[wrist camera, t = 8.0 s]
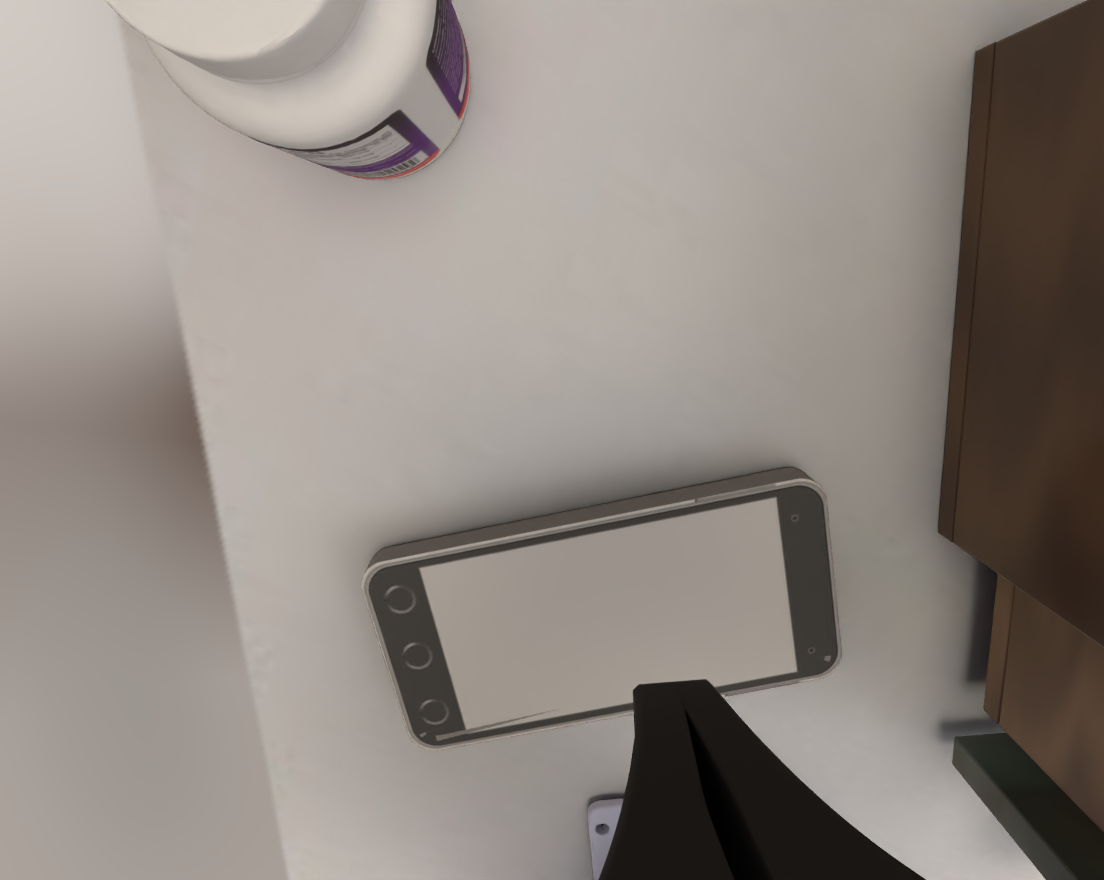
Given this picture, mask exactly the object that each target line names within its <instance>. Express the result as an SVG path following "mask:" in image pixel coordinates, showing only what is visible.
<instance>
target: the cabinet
mask: <svg viewBox="0 0 1104 880" xmlns="http://www.w3.org/2000/svg"><path fill="white" fill-rule="evenodd" d="M938 532H939V533H940V534H941V535H943V536H944V537H945V538H947V539H948V540H950V541H951V542H954V543H955V544H956V545H958V546H959V547H960V548H962V549H963V550H965V551H966V552H968V553H969V554H970V555H972V556H973V557H975V558H976V559H978V560H979V561H980V562H982V563H983V564H985V565H986V566H988V567H989V568H990V569H992V570H993V571H995V572H996V573H998V574H999V575H1000V576H1002V577H1003V578H1005V579H1006V580H1008V581H1009V582H1010V583H1012V584H1013V585H1015V586H1016V587H1018V588H1019V589H1020V590H1022V591H1023V592H1025V593H1026V594H1028V595H1029V596H1030V597H1032V598H1033V599H1035V600H1036V601H1038V602H1039V603H1040V604H1042V605H1043V606H1045V607H1046V608H1048V609H1049V610H1050V611H1052V612H1053V613H1055V614H1056V615H1058V616H1059V617H1060V618H1062V619H1063V620H1065V621H1066V622H1068V623H1069V624H1070V625H1072V626H1073V627H1075V628H1076V629H1078V630H1079V631H1080V632H1082V633H1083V634H1085V635H1086V636H1088V637H1089V638H1090V639H1092V640H1093V641H1095V642H1096V643H1098V644H1099V645H1100V646H1102V647H1103V648H1104V0H1087V1H1084V2H1082V3H1080V4H1078V5H1076V6H1074V7H1071V8H1069V9H1067V10H1065V11H1063V12H1061V13H1058V14H1056V15H1054V16H1052V17H1050V18H1048V19H1045V20H1043V21H1041V22H1039V23H1037V24H1035V25H1032V26H1030V27H1028V28H1026V29H1024V30H1022V31H1019V32H1017V33H1015V34H1013V35H1011V36H1009V37H1006V38H1004V39H1002V40H1000V41H998V42H995V43H993V44H990V45H988V46H986V47H984V48H982V49H980V50H978V51H977V52H976V63H975V76H974V89H973V101H972V114H971V127H970V139H969V152H968V164H967V177H966V190H965V202H964V215H963V228H962V240H961V253H960V265H959V278H958V291H957V303H956V316H955V329H954V341H953V354H952V366H951V379H950V392H949V404H948V417H947V430H946V442H945V455H944V468H943V480H942V493H941V505H940V518H939V531H938Z"/></svg>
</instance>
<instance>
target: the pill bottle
mask: <svg viewBox="0 0 1104 880" xmlns="http://www.w3.org/2000/svg"><path fill="white" fill-rule="evenodd" d="M105 1H106V2H107V3H108V4H109V5H110V6H111V7H112V8H113V9H114V10H115V12H116V13H117V14H118V15H119V16H120V17H121V18H123V19H124V20H125V21H126V22H127V23H128V24H130V25H131V26H132V27H133V28H134V29H136V30H137V31H138V32H140V33H141V34H143V35H144V37H145V39H146V40H147V42H148V44H149V46H150V48H151V50H152V52H153V54H154V55H155V57H156V58H157V60H158V61H159V63H160V64H161V66H162V67H163V68H164V70H165V71H166V73H167V74H168V75H169V77H170V78H171V79H172V80H173V81H174V82H175V84H176V85H177V86H178V87H179V88H180V89H181V90H182V91H183V92H184V93H185V94H186V95H187V96H188V97H189V98H190V99H191V100H192V101H193V102H194V103H195V104H196V105H197V106H199V107H200V108H201V109H202V110H204V111H205V112H206V113H207V114H209V115H210V116H212V117H213V118H215V119H216V120H218V121H219V122H221V123H223V124H224V125H226V126H228V127H229V128H231V129H234V130H236V131H238V132H240V133H242V134H244V135H246V136H248V137H250V138H252V139H254V140H256V141H259V142H261V143H264V144H267V145H270V146H272V147H275V148H278V149H280V150H283V151H286V152H288V153H291V154H293V155H296V156H298V157H301V158H304V159H306V160H308V161H311V162H314V163H316V164H319V165H322V166H324V167H327V168H330V169H332V170H335V171H337V172H340V173H343V174H346V175H349V176H353V177H358V178H363V179H369V180H391V179H396V178H401V177H405V176H408V175H411V174H413V173H415V172H417V171H419V170H421V169H423V168H424V167H426V166H428V165H429V164H431V163H432V162H433V161H434V160H436V159H437V158H438V157H439V156H440V155H441V154H442V153H443V152H444V151H445V150H446V149H447V147H448V146H449V145H450V143H451V142H452V141H453V139H454V138H455V136H456V134H457V132H458V130H459V128H460V126H461V124H462V121H463V118H464V115H465V112H466V109H467V105H468V100H469V94H470V82H471V75H470V63H469V57H468V51H467V47H466V43H465V38H464V35H463V32H462V29H461V26H460V23H459V21H458V18H457V16H456V13H455V10H454V8H453V5H452V2H451V0H105Z"/></svg>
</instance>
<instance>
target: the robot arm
mask: <svg viewBox="0 0 1104 880" xmlns="http://www.w3.org/2000/svg"><path fill="white" fill-rule="evenodd" d="M633 707H634V727H635V739H634V746H633V753H632V760H631V767H630V772H629V777H628V782H627V786H626V790H625V795H624V798H622V799H611V800H599V801H595V802H593V803H592V804H591V805H590V806H589V807H588V812H587V813H588V824H589V835H590V846H591V857H592V868H593V879H594V880H926V879H924V878H923V877H921V876H920V875H918V874H917V873H915V872H914V871H912V870H911V869H910V868H908V867H907V866H905V865H904V864H902V863H901V862H899V861H898V860H896V859H895V858H894V857H892V856H891V855H890V854H888V853H887V852H886V851H884V850H883V849H881V848H880V847H879V846H877V845H876V844H875V843H873V842H872V841H871V840H870V839H868V838H867V837H866V836H865V835H863V834H862V833H861V832H859V831H858V830H857V829H856V828H854V827H853V826H852V825H851V824H849V823H848V822H847V821H846V820H845V819H843V818H842V817H841V816H840V815H839V814H838V813H836V812H835V811H834V810H833V809H832V808H831V807H830V806H828V805H827V804H826V803H825V802H824V801H823V800H822V799H820V798H819V797H818V796H817V795H816V794H815V793H814V792H813V791H812V790H811V789H810V788H809V787H807V786H806V785H805V784H804V783H803V782H802V781H801V780H800V779H799V778H798V777H797V776H796V775H795V774H794V773H793V772H792V771H791V770H790V769H789V768H787V767H786V766H785V765H784V764H783V763H782V761H781V760H780V759H779V758H778V757H777V756H776V755H775V754H774V753H773V752H772V751H771V750H770V749H769V748H768V747H767V746H766V745H765V744H764V743H763V742H762V741H761V740H760V739H759V738H758V737H757V736H756V735H755V733H754V732H753V731H752V730H751V729H750V728H749V727H748V726H747V725H746V724H745V722H744V721H743V720H742V719H741V718H740V717H739V716H738V715H737V713H736V712H735V711H734V710H733V709H732V708H731V706H730V705H729V704H728V703H727V702H726V701H725V699H724V698H723V697H722V696H721V695H720V693H719V692H718V691H717V690H716V688H715V687H714V686H713V685H712V684H711V683H710V682H709V681H708V680H707V679H699V680H687V681H674V682H661V683H648V684H638V685H637V686H636V687H635V688H634V689H633ZM599 824H606V825H604V826H598V825H599Z"/></svg>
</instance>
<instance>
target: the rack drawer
mask: <svg viewBox="0 0 1104 880" xmlns="http://www.w3.org/2000/svg"><path fill="white" fill-rule="evenodd" d="M983 708H984V710H985V711H986V712H987V713H988V715H989V716H990V717H991V718H992V719H993V720H994V721H995V722H996V723H998V724H1000V727H1001V728H1002V729H1003V730H1004V731H1005V732H1006V733H996V734H984V735H973V736H961V737H955V739H954V750H953V760H952V763H953V765H954V766H955V768H956V769H957V770H958V771H959V773H960V774H961V775H962V776H963V778H964V779H965V780H966V781H967V783H968V784H969V785H970V786H971V788H972V789H973V790H974V791H975V792H976V794H977V795H978V796H979V797H980V799H981V800H982V801H983V802H984V804H985V805H986V806H987V807H988V809H989V810H990V811H991V812H992V814H993V815H994V816H995V817H996V818H997V820H998V821H999V822H1000V823H1001V825H1002V826H1003V827H1004V828H1005V830H1006V831H1007V832H1008V833H1009V835H1010V836H1011V837H1012V838H1013V840H1014V841H1015V842H1016V843H1017V844H1018V846H1019V847H1020V848H1021V849H1022V851H1023V852H1024V853H1025V854H1026V856H1027V857H1028V858H1029V859H1030V861H1031V862H1032V863H1033V864H1034V866H1035V867H1036V868H1037V869H1038V870H1039V872H1040V873H1041V874H1042V875H1043V877H1044V878H1045V879H1046V880H1104V648H1103V647H1102V646H1100V645H1099V644H1098V643H1096V642H1095V641H1093V640H1092V639H1090V638H1089V637H1088V636H1086V635H1085V634H1083V633H1082V632H1080V631H1079V630H1078V629H1076V628H1075V627H1073V626H1072V625H1070V624H1069V623H1068V622H1066V621H1065V620H1063V619H1062V618H1060V617H1059V616H1058V615H1056V614H1055V613H1053V612H1052V611H1050V610H1049V609H1048V608H1046V607H1045V606H1043V605H1042V604H1040V603H1039V602H1038V601H1036V600H1035V599H1033V598H1032V597H1030V596H1029V595H1028V594H1026V593H1025V592H1023V591H1022V590H1020V589H1019V588H1018V587H1016V586H1015V585H1013V584H1012V583H1010V582H1009V581H1008V580H1006V579H1005V578H1003V577H1002V576H1000V575H999V574H998V578H997V587H996V596H995V605H994V615H993V624H992V633H991V642H990V652H989V661H988V670H987V679H986V688H985V698H984V707H983Z"/></svg>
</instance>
